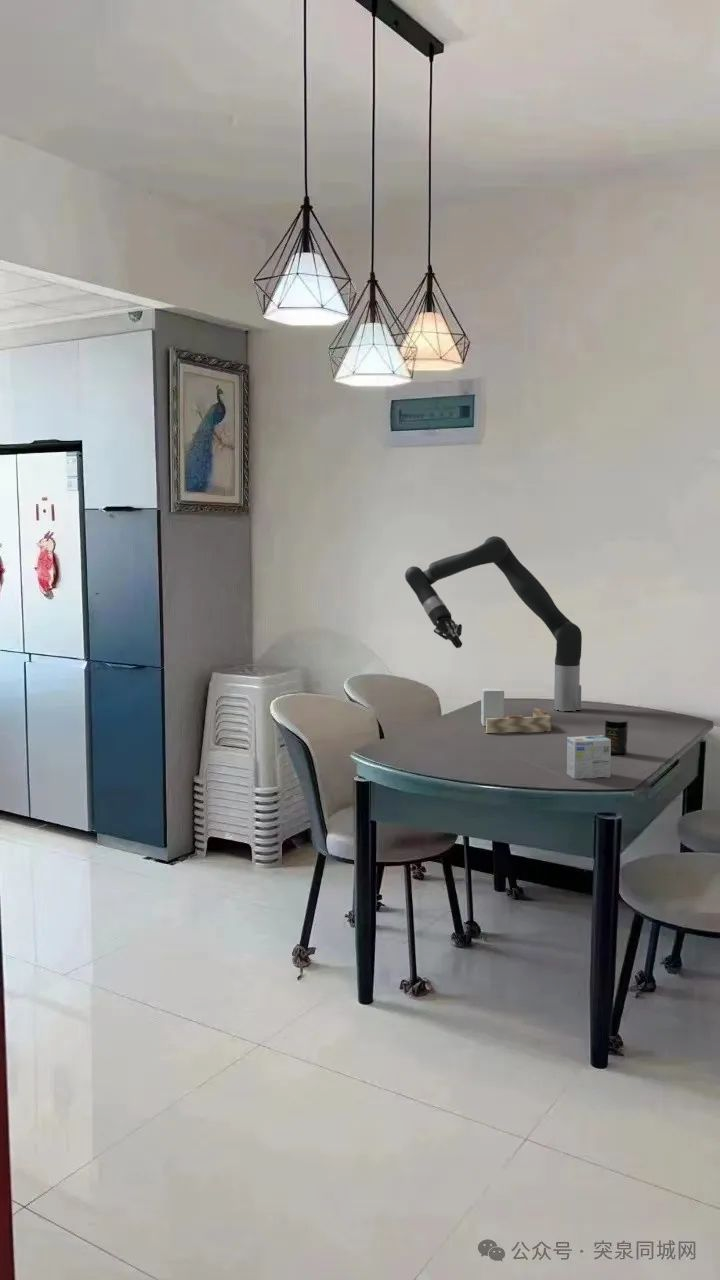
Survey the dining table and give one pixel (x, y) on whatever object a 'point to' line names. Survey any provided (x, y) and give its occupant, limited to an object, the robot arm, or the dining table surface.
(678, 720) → the dining table surface
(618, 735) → the supplement container
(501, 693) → the supplement box
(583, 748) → the light bulb box
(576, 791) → the dining table surface
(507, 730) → the wooden corner bracket
